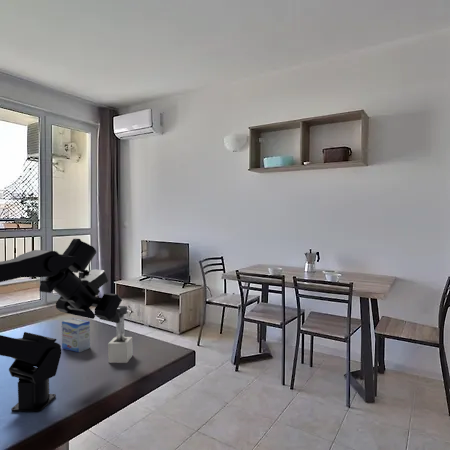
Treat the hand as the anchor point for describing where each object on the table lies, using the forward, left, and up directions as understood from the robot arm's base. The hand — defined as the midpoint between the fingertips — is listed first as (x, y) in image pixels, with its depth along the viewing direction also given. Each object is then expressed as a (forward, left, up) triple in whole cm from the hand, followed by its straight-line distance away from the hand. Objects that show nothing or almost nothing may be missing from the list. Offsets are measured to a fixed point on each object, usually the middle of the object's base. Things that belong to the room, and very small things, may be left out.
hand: (106, 319), depth 94 cm
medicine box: (+13, +15, -13) cm, 24 cm away
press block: (+5, -2, -13) cm, 14 cm away
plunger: (+5, -2, -8) cm, 10 cm away
